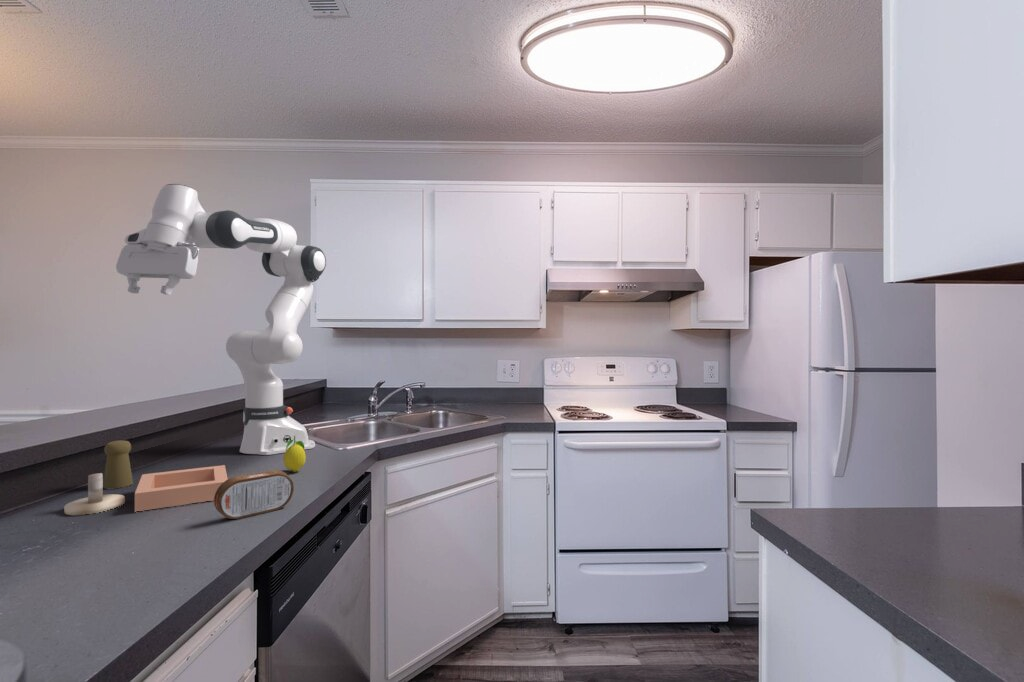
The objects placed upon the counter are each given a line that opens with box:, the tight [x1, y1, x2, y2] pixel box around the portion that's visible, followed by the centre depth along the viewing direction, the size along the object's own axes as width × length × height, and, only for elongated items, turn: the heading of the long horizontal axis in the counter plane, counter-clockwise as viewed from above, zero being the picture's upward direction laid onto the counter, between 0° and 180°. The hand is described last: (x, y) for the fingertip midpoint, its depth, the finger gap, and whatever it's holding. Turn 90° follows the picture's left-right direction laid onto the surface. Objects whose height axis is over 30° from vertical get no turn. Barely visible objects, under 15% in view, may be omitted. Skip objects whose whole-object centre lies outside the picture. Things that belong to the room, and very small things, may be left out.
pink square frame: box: [134, 464, 229, 513], centre depth 116 cm, size 17×17×4 cm
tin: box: [213, 469, 295, 520], centre depth 104 cm, size 15×3×8 cm, turn 134°
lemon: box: [283, 435, 307, 473], centre depth 136 cm, size 7×6×10 cm
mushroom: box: [63, 472, 126, 516], centre depth 107 cm, size 10×10×7 cm
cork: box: [103, 440, 134, 489], centre depth 123 cm, size 6×6×11 cm
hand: (149, 293), depth 123 cm, fingers open, 8 cm apart
